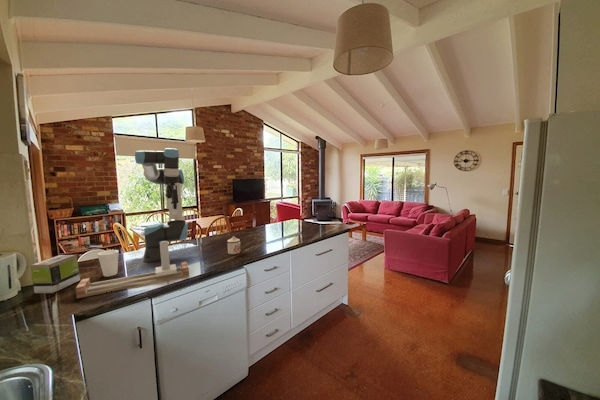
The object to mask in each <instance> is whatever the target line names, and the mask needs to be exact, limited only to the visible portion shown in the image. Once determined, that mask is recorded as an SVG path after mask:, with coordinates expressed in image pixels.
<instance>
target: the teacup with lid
mask: <svg viewBox="0 0 600 400" xmlns="http://www.w3.org/2000/svg"><path fill="white" fill-rule="evenodd" d="M226 242H227V253H228V255H237V254H240V253H241V240H240V238H237V237H235V236H232V237H230V238H229V239H227V241H226Z"/></svg>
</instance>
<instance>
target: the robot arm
mask: <svg viewBox="0 0 600 400" xmlns="http://www.w3.org/2000/svg"><path fill="white" fill-rule="evenodd" d="M179 155H180V153H179V149H177V148H172V147H170V148H169V147H167V148H166V147H165V148H163V150H136V151H135V152H134V159H135V160H134V161H135V163H136V164H138V165H141V166H142V169H143V175H144V177H145V179H146V180H147V181H148V182H150V183H153V184H156V185H164V187H165V188H166V190H165V198H166V210H168V214H169V215H168V216H169V219H168V221H167V222H166V223H167V224H166V225H165V223H162V222H161V223H154V224H149V225H147V226H146V227H144V231H143V235H144V245H145V249H144V254H143V262H145V263H157V262H161V253H160V242H161V241H168V243H171V242H178V241H179V242H180V241H185V240H186V239H187V238H188V231H189V229H188V228H189V226H188V225H189V223H188V222H186V220H185V219H184V217H183V216H184V215H183V214H184V213H183V205H182V204H183V203H182V187H183V184H185V176H184V172H183V170H182V169H181V168H180V167H179V166H180V165H179V161H180V160H179V157H180V156H179ZM157 165H164V166H163V168H162V167H160V168H159V167H157Z"/></svg>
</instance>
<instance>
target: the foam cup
mask: <svg viewBox="0 0 600 400" xmlns="http://www.w3.org/2000/svg"><path fill="white" fill-rule="evenodd" d="M119 251H120V250H119V249H111V250H110V249H109V250H104V251H100V252H98V253H97V258H98V261H99V264H100V267H101V271H102V275H103V277H105V278H106V277H112V276H115V275H117V274H118V269H119V268H118V267H119V255H120V252H119Z"/></svg>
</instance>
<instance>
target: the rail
mask: <svg viewBox="0 0 600 400" xmlns="http://www.w3.org/2000/svg"><path fill="white" fill-rule="evenodd" d="M176 269H177V273H174V274H169V275H163V276H158V277H156V274H155V271H152V272H146V273H141V274H135V275H129V276H124V277H119V278H112V279H107V280H101V281H95V282H91V277H87V278H86V277H85V278H82V279H80V280H79V281H80V282H79V283H78V284H76V285H77V286H76V287H75V293H76V295H75V296H76V299H80V298H86V297H90V296H91V297H92V296H95V295H100V294H101V295H103V294H107V293H112V292H117V291H121V290H127V289H132V288H136V287H142V286H147V285H151V284H152V285H153V284H157V283H162V282H167V281H173V280H179V279H183V278H188V277H190V268H189V265H188V261H182V262H180V267H176ZM111 291H112V292H111ZM106 292H107V293H106Z"/></svg>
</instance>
